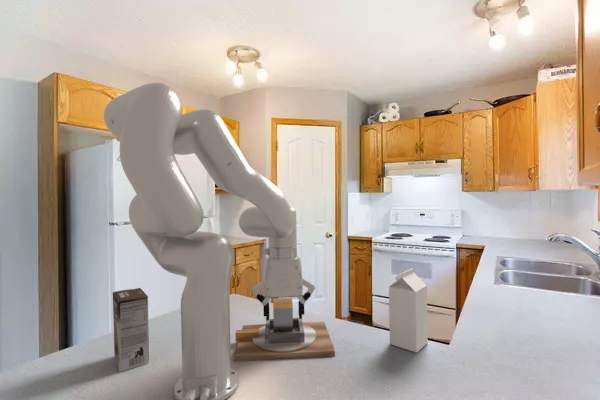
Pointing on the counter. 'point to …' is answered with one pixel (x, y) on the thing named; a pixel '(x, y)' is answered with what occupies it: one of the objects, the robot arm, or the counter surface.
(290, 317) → the grey orange block
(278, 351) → the rosette board
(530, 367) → the counter surface
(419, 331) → the milk carton
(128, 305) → the coffee box
